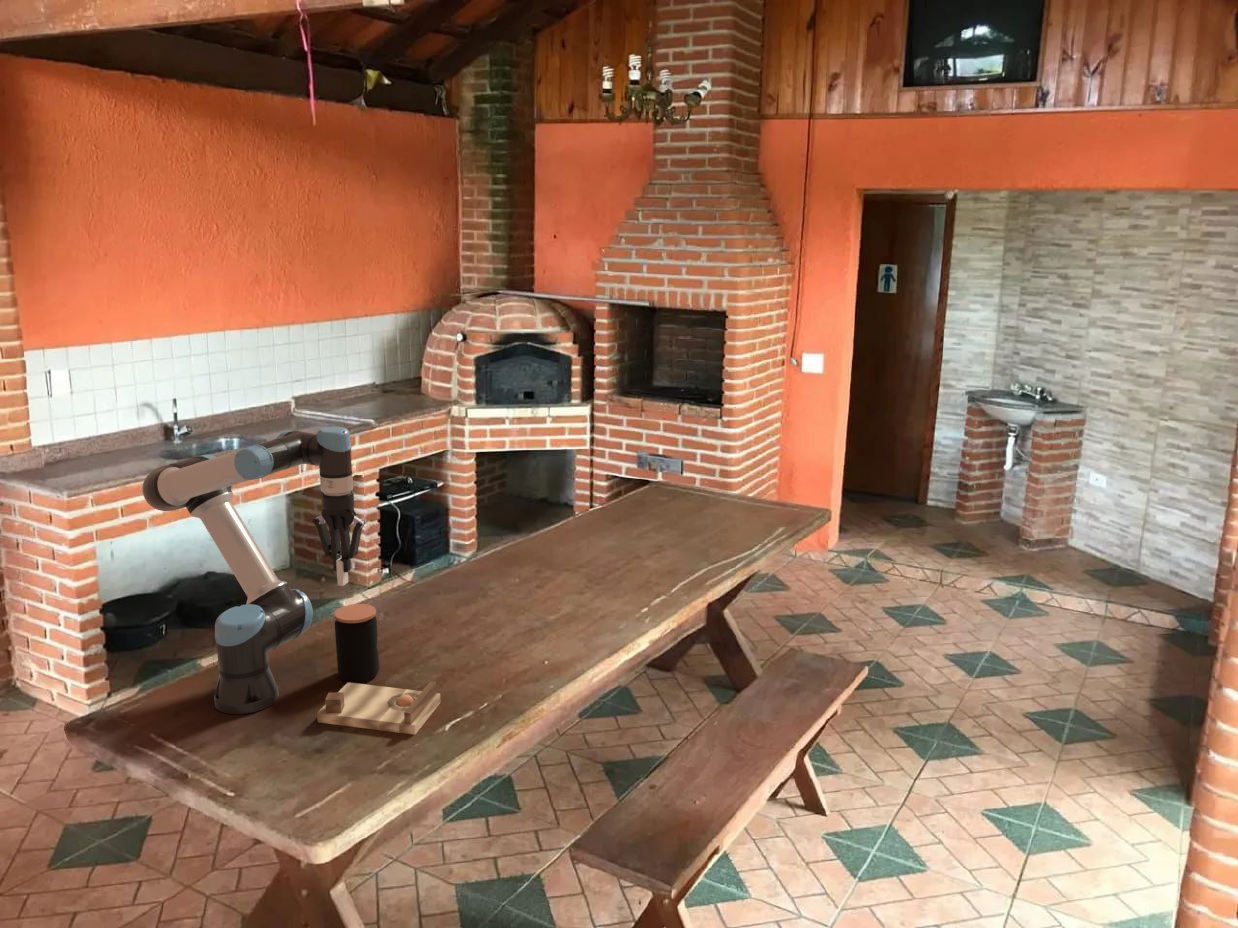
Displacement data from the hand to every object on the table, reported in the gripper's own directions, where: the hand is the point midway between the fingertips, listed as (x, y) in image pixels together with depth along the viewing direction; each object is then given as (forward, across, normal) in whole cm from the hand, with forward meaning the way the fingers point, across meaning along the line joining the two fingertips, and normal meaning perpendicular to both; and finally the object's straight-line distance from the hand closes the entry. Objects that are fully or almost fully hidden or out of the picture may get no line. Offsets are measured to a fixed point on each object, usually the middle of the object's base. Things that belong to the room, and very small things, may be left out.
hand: (343, 583), depth 248 cm
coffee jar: (+31, -3, +11) cm, 33 cm away
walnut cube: (+28, +2, -12) cm, 30 cm away
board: (+30, +11, -6) cm, 33 cm away
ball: (+28, +17, -4) cm, 33 cm away
